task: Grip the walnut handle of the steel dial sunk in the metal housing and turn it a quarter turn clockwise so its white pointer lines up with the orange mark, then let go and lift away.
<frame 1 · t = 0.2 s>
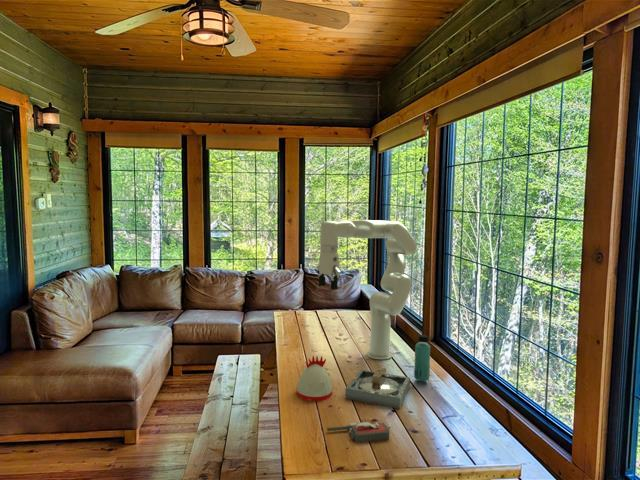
hand: (327, 287, 195), 37 cm above the table, tool pointing down, fingers open, 9 cm apart
dial: (379, 379, 174), point 5 cm above the table, hinge at 0.0°
beverage bottle: (421, 382, 186), on the table
walkie-talkie: (359, 436, 142), on the table
kitchen timer: (314, 393, 173), on the table
dial housing: (378, 392, 175), on the table
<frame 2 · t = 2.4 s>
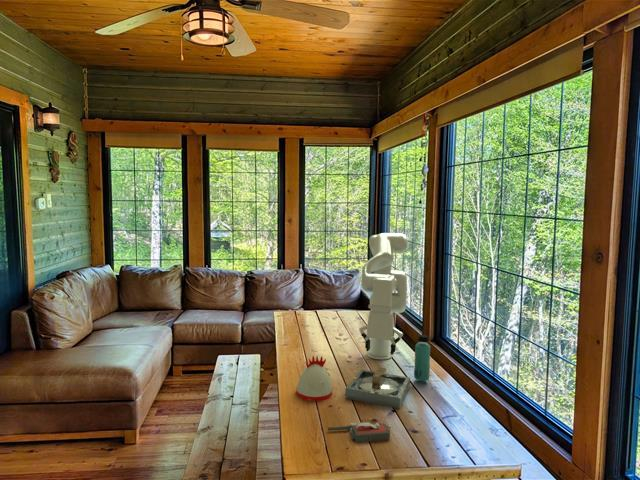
hand: (380, 351, 173), 17 cm above the table, tool pointing down, fingers open, 9 cm apart
nothing on the table moved.
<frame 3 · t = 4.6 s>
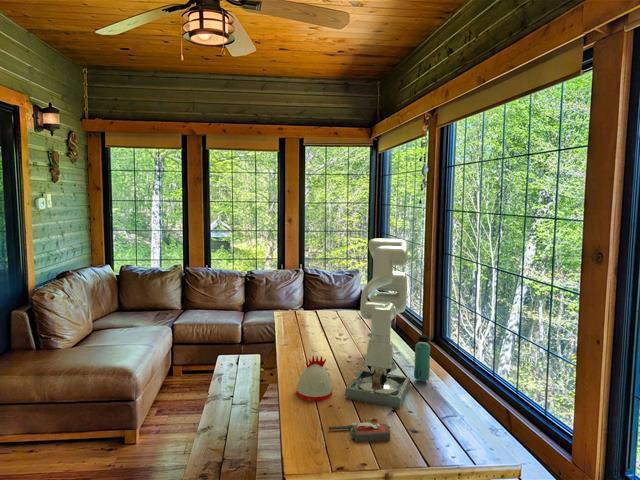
hand: (379, 382, 174), 4 cm above the table, tool pointing down, fingers closed on dial, 3 cm apart
dial: (379, 379, 174), point 5 cm above the table, hinge at 0.0°, touching gripper
everything else where it was.
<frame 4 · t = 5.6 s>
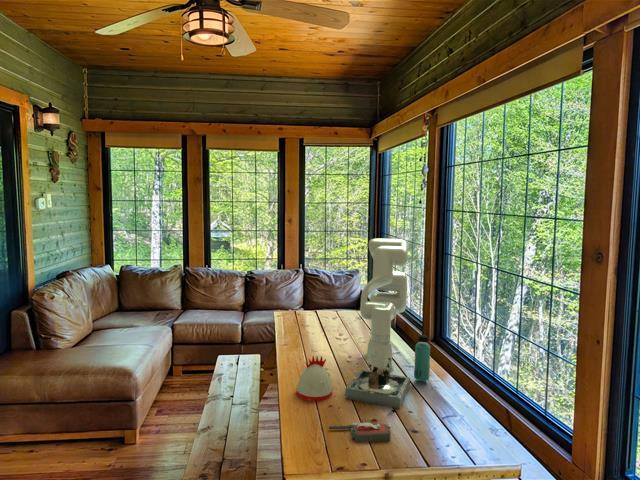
hand: (378, 382, 174), 4 cm above the table, tool pointing down, fingers closed on dial, 3 cm apart
dial: (379, 379, 174), point 5 cm above the table, hinge at -21.6°, touching gripper
everything else where it was.
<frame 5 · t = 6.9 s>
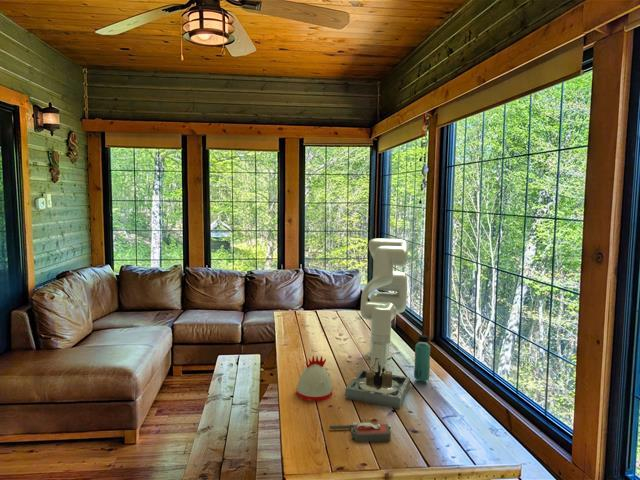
hand: (379, 382, 174), 4 cm above the table, tool pointing down, fingers closed on dial, 3 cm apart
dial: (379, 379, 174), point 5 cm above the table, hinge at -75.5°, touching gripper
everything else where it was.
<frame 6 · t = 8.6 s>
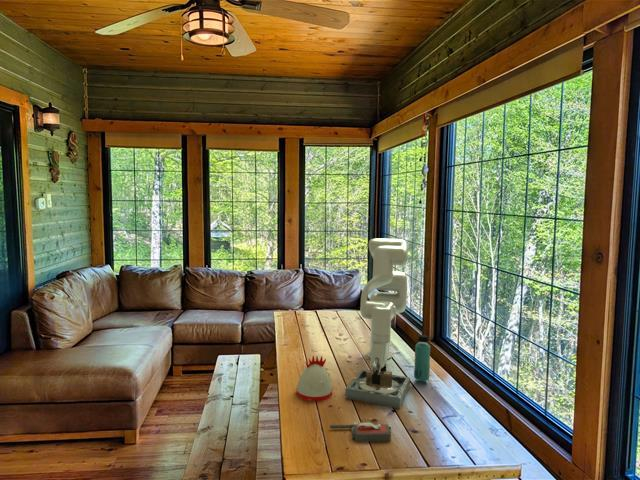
hand: (379, 379, 174), 5 cm above the table, tool pointing down, fingers open, 9 cm apart
dial: (379, 379, 174), point 5 cm above the table, hinge at -76.2°
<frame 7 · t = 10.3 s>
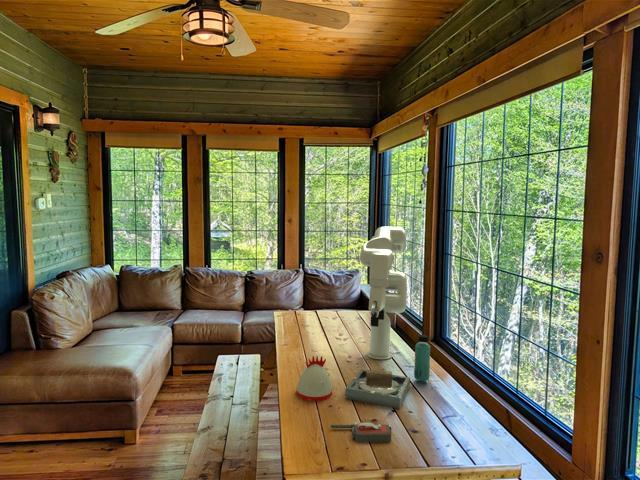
hand: (377, 322, 182), 25 cm above the table, tool pointing down, fingers open, 9 cm apart
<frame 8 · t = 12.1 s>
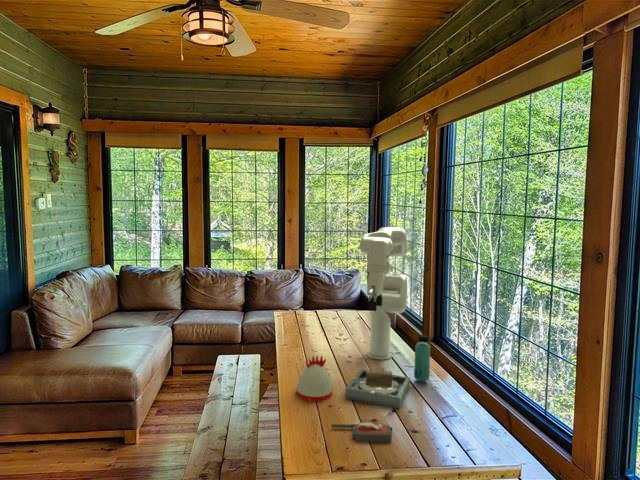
hand: (375, 308, 187), 30 cm above the table, tool pointing down, fingers open, 9 cm apart
at the end: dial at -76° (first picture: +0°); the gripper is holding nothing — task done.
